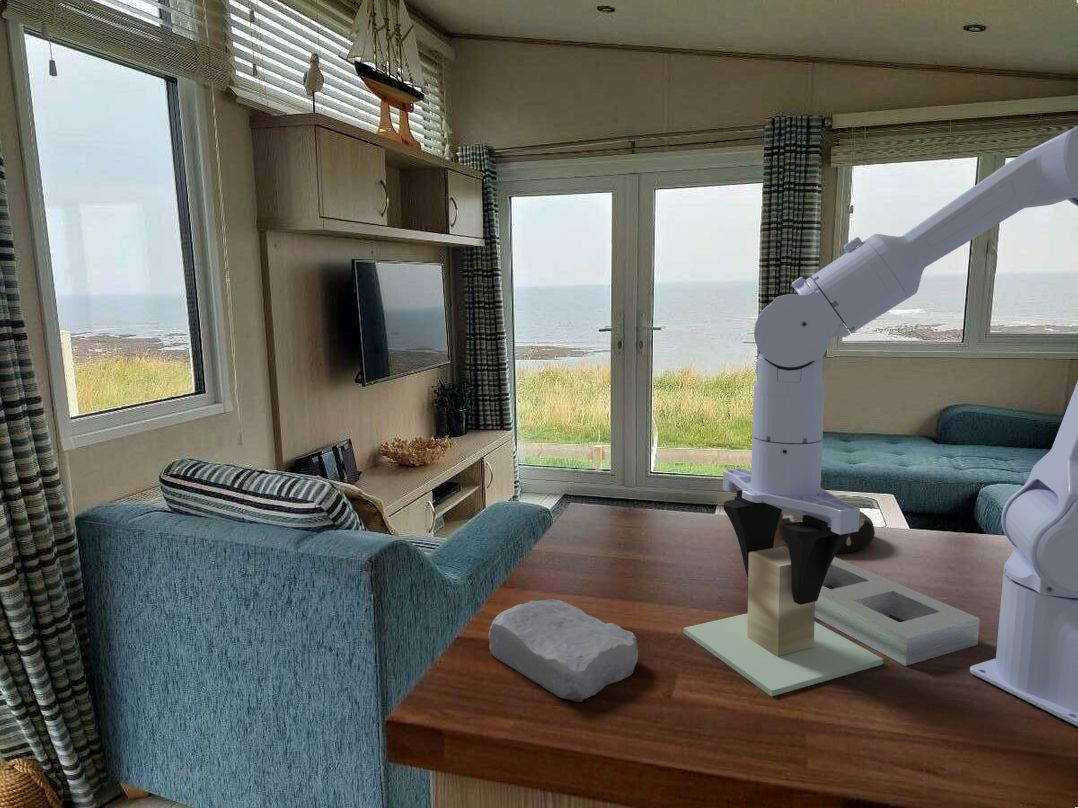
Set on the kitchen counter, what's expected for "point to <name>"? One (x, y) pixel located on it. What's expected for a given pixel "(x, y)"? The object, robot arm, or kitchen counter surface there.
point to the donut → (851, 543)
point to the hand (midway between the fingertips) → (780, 588)
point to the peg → (776, 604)
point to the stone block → (562, 648)
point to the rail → (873, 598)
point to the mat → (781, 656)
